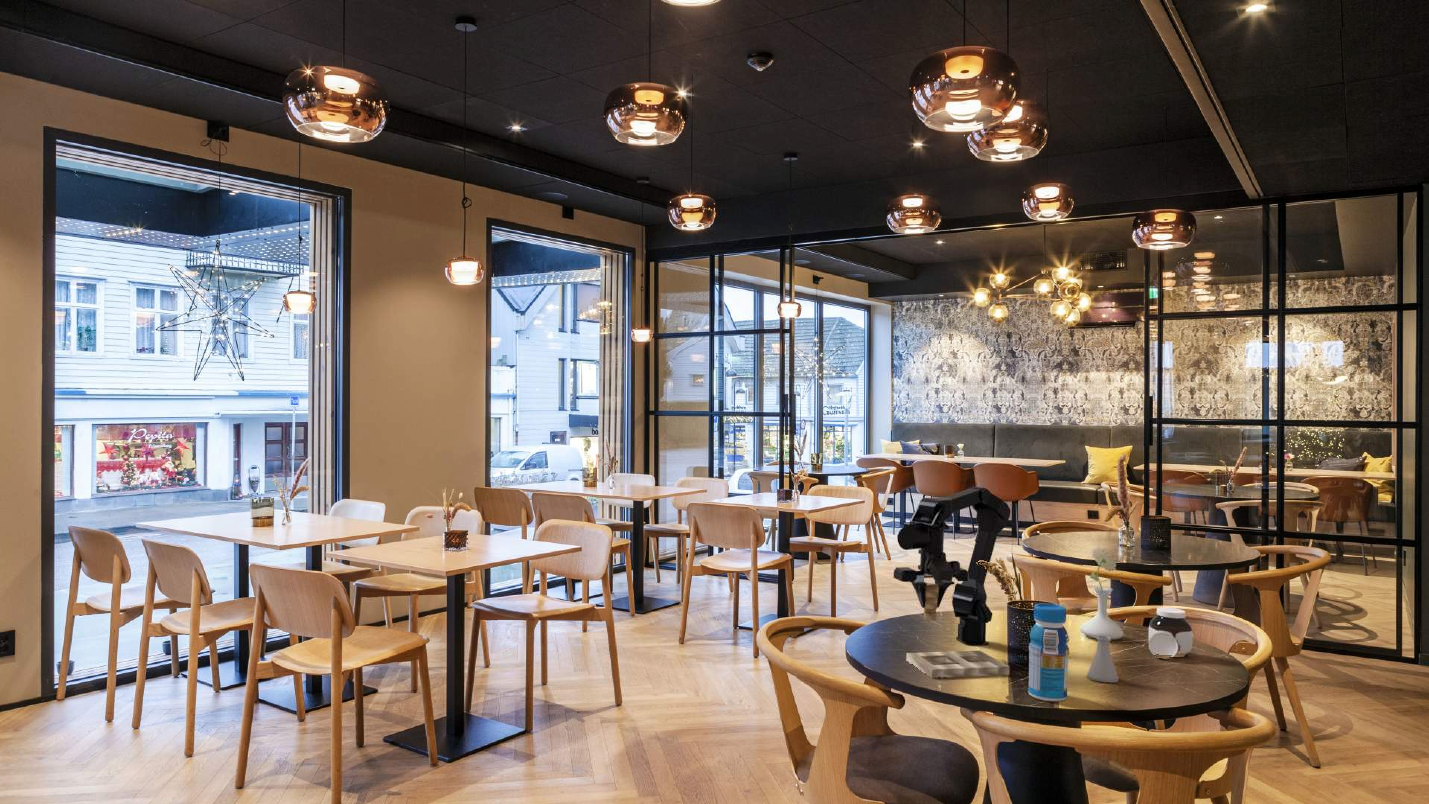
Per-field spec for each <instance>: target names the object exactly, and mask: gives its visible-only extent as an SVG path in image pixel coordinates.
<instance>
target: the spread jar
mask: <svg viewBox="0 0 1429 804" xmlns="http://www.w3.org/2000/svg"><path fill="white" fill-rule="evenodd" d="M1186 617H1187V616H1186V611H1185V610H1183V609H1181V608H1180V609H1179V608H1174V607H1164V606H1163V607H1161V606H1160V607H1157V608H1156V615H1155V616H1154V617H1153V618H1152V619H1150V622H1149V625H1148V637H1147V638H1148V648H1149V651H1150V653H1151V654H1152V655H1153V656H1154V655H1155V654H1159V655H1172V656H1171V657H1174V656H1175V655H1176V654H1177V653H1179V654H1180V653H1189V652H1190V653H1191V651H1192V648H1193V638H1194V637H1193V633H1194V632H1193V628H1192V626H1191V624H1190V622H1189V621H1188V620H1187V619H1186ZM1190 653H1189V654H1190Z"/></svg>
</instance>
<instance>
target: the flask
mask: <svg viewBox="0 0 1429 804" xmlns="http://www.w3.org/2000/svg"><path fill="white" fill-rule="evenodd" d="M1096 640H1097V647H1096V652H1095V654H1094V656H1093V657H1094V658H1093V660H1092V662H1091V664H1090V667H1089V669H1088V672H1087V673H1086V677H1087V678H1088V679H1090V680H1091V681H1094V682H1095V681H1096V682H1100V683H1107V682H1108V683H1118V682H1119V680H1120V677H1119V675H1118V673H1117V670H1116V667H1115V663H1114V660H1113V658H1112V654H1111V648H1110V645H1111V644H1110V642H1111V640H1112V639H1111V638H1110V637H1108V636H1097V638H1096ZM1118 679H1119V680H1118ZM1108 683H1107V684H1108Z"/></svg>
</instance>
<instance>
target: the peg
mask: <svg viewBox="0 0 1429 804" xmlns="http://www.w3.org/2000/svg"><path fill="white" fill-rule="evenodd" d="M926 583H927V585H926V587H925V608H923V620H924V621H925V620H926V621H931V622H932V621H933V622H934V621H936V619H937V609H938V608H937V602H938V596H939V585H938V584H935V582H934V583H933V582H926Z"/></svg>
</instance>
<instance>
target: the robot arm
mask: <svg viewBox="0 0 1429 804" xmlns="http://www.w3.org/2000/svg"><path fill="white" fill-rule="evenodd" d="M969 507H971V508H972V509H973V510H974V511H975V512H976V516H975V519H976V523H977V527H978V531H977V536H976V538H975V539H976V540H975V543H974V547H973V550H972V553H971V557H970V561H969V565H968V569H965V568H963V567H961V563H960V562H959V561H958V560H951V561H947V554H946V552H944V545H945V544H944V541H945V540H944V539H945V538H944V537H945V535H944V534H945V533H944V532H945V530H950V528H951V527H950V526H949V525H948V524H947V523H946V521H947V520H949V519H951V518H952V517H953V514H954V513H956V512H958V511H961V510H964V509H967V508H969ZM1010 516H1011V508H1010V506H1009V505H1008V503H1007V502H1006V501H1004V500H1003V499H1002V498H1000V497H998V496H997V495H995V494H993V493H992V492H991V491H990V490H989V489H988V488H986V487H981V486H971V487H969V488H967V489H965V490H960V491H958V492H955V493H952V494H950V495H946V496H943V497H936V496H935V497H934V496H933V497H923V498H922V499H920V500H919V504H918V505H917V507H916V509H915V511H914V513H913V514H912V517H911V518H910V520H909V522H904V523H903V527H902V528H900V530H899V531H898V534H897V537H896V538H897V543H898V546H900V548H901V549H902V550H905V551H910V550H911V551H912V550H918V552H917V553H918V554H919V555H920V556H919V557H920V560H919V561H920V562H919V563H920V564H918V565H917V570H915V569H913V568H910V567H908V566H907V567H905V566H904V567H902V566H901V567H900V566H899V567H898V566H897V567H895V569H894V571H893V579H895V580H898V581H899V582H902V583H911V585H912V587H913V589H914V591H915V593H916V597H917V599H918V602H919V604H920V607H921V608H922V609H924V608H925V587H926V585H927V583H928V582H925V579H929V578H930V579H932V578H933V580H934V584H938V585H939V596H938V602H937V609H938V608H940V605H941V603H942V601H943V599H944V598H943V597H944V595H945V594H946V591H947V589H948V588H949V587H950V586H952V585H955V586H954V589H953V593H952V596H951V598H952V600H951V605H952V609H953V614H954V617H955V618H959V623H957V636H956V638H955V639H956V641H959V642H961V643H963V644H964V645H966V646H971V645H972V646H973V645H974V646H975V645H977V646H978V645H979V646H980V645H989V642H988V641H987V639H986V633H987V624H988V623H989V622H991V621H992V618H993V612H992V611H991V608H989V606H988V605H987V598H988V596H987V592H986V589H985V582H986V579H987V574H988V571H987V569H985V567H984V566H982V565H979V563H980V562H978V561H979V560H984V561H987V562H991V561H992V560H991V559H992V556H993V552H994V550H995V549H994V548H995V545H996V540H997V537H998V534H1000V532H1002V531H1003V530H1004V529H1005V528H1006V526H1007V524H1008V523H1009V519H1010ZM976 562H978V565H979V566H978V565H977V564H976ZM981 563H985V562H981ZM987 564H988V563H987ZM953 578H954V579H955V580H957V583H956V582H955V581H953ZM959 582H961V583H959ZM955 583H956V584H955Z"/></svg>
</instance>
